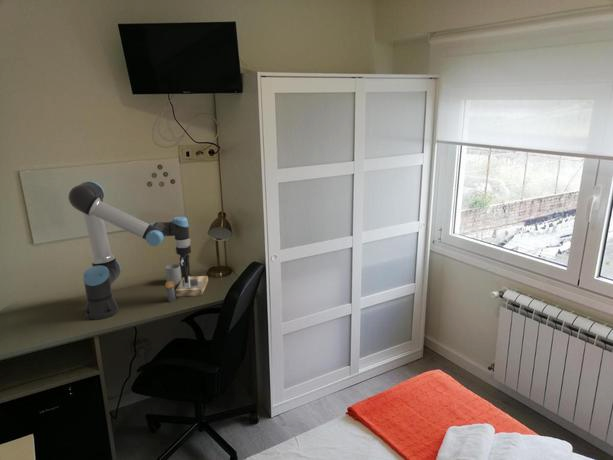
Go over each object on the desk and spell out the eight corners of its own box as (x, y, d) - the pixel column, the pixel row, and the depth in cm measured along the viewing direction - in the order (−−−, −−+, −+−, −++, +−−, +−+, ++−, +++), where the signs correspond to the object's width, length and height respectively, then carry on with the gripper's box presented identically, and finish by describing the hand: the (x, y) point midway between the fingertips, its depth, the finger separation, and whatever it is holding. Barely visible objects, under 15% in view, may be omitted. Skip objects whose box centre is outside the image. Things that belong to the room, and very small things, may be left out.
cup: (167, 280, 271) (165, 264, 269) (181, 278, 274) (179, 263, 271) (167, 285, 264) (165, 269, 261) (181, 283, 266) (180, 267, 263)
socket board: (176, 296, 249) (175, 290, 248) (184, 282, 268) (183, 276, 267) (201, 295, 249) (201, 289, 248) (208, 281, 268) (207, 276, 267)
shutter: (178, 288, 250) (177, 282, 249) (181, 283, 257) (180, 277, 256) (200, 287, 250) (199, 281, 249) (202, 282, 257) (202, 277, 256)
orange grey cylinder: (166, 302, 241) (164, 284, 239) (168, 298, 246) (166, 281, 243) (175, 302, 242) (173, 284, 239) (177, 298, 246) (175, 281, 243)
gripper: (187, 249, 233) (192, 292, 240) (192, 242, 246) (197, 282, 252) (172, 250, 233) (177, 292, 240) (178, 242, 246) (183, 283, 252)
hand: (187, 287), depth 246 cm, fingers closed
